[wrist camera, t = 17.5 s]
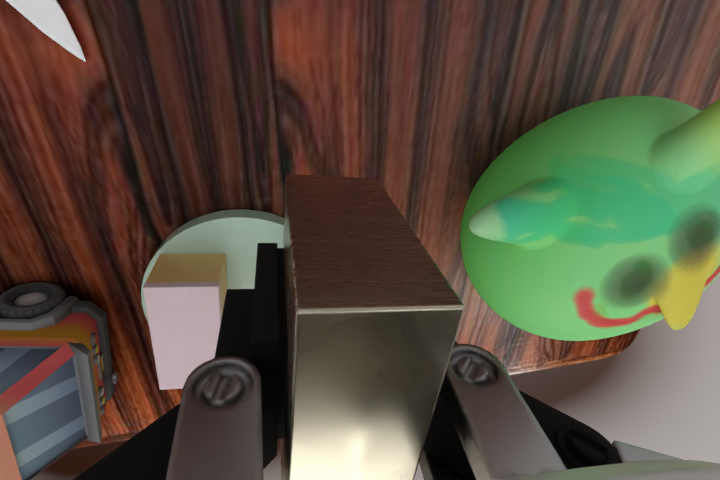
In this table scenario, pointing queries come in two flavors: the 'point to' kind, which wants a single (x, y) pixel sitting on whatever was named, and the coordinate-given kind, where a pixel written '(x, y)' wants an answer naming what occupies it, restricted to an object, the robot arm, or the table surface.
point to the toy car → (50, 376)
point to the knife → (50, 22)
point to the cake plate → (224, 242)
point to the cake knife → (359, 333)
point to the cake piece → (184, 312)
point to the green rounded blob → (599, 219)
